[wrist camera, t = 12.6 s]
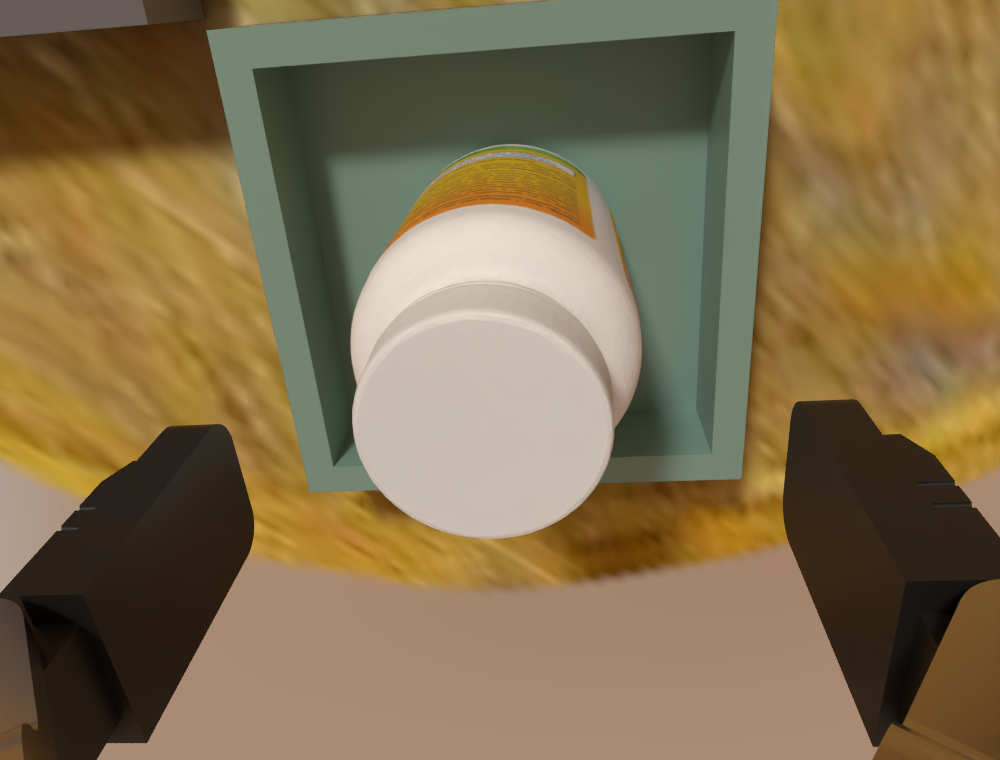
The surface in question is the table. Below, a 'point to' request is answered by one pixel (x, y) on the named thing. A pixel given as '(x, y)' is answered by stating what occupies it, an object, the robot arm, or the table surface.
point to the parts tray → (527, 121)
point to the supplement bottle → (496, 346)
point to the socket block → (91, 14)
